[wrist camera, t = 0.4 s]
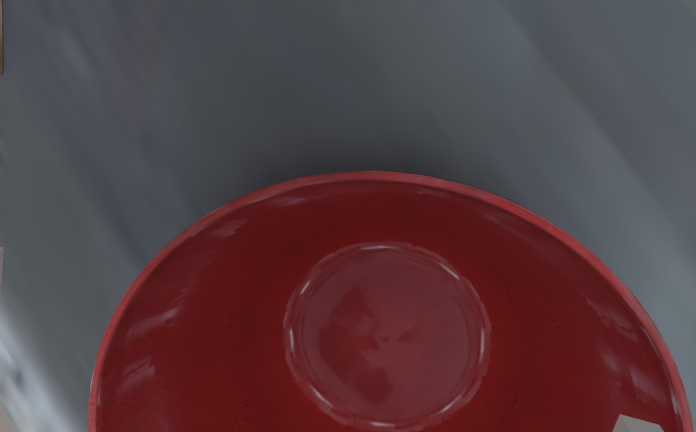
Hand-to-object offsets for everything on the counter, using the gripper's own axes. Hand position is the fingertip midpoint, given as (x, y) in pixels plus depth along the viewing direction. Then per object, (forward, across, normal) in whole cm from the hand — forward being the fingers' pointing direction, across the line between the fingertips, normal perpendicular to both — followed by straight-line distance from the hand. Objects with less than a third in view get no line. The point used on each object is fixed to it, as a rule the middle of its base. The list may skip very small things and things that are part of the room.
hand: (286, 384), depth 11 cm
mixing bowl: (+27, +3, -11) cm, 29 cm away
